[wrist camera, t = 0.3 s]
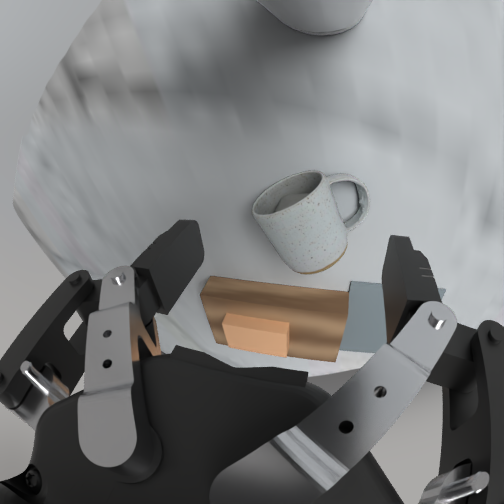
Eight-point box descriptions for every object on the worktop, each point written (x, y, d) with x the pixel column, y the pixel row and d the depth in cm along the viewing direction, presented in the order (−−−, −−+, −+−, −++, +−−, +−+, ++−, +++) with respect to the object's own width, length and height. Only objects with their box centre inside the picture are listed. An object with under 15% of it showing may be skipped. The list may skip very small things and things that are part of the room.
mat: (351, 281, 34) (351, 282, 33) (445, 289, 30) (445, 290, 30) (335, 348, 43) (335, 349, 43) (410, 353, 39) (410, 354, 39)
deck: (210, 275, 40) (199, 294, 37) (349, 291, 35) (348, 314, 32) (224, 325, 48) (216, 343, 45) (337, 342, 42) (335, 362, 39)
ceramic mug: (294, 245, 33) (283, 289, 27) (260, 187, 29) (240, 223, 24) (378, 218, 28) (387, 261, 22) (351, 150, 24) (358, 178, 18)
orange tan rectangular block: (226, 312, 38) (221, 323, 37) (289, 322, 36) (286, 334, 34) (232, 337, 42) (228, 347, 40) (289, 346, 39) (286, 357, 38)
